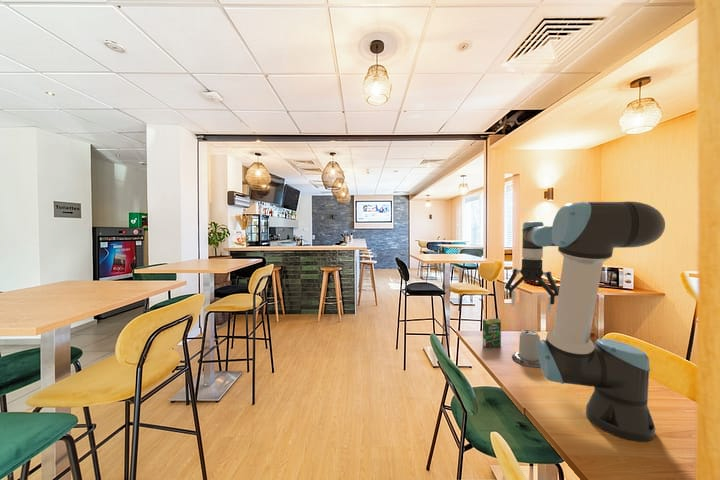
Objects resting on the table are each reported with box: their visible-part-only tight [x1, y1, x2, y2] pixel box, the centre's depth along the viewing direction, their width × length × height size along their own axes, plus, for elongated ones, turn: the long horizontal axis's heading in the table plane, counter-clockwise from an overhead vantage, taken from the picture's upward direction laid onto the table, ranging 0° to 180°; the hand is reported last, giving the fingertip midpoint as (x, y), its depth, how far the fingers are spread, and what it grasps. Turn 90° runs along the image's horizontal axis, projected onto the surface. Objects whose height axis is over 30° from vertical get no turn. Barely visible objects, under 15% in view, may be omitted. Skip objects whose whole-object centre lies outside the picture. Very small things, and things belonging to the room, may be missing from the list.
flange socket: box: [511, 351, 541, 369], centre depth 128 cm, size 13×13×2 cm
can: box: [518, 328, 541, 362], centre depth 128 cm, size 8×8×12 cm
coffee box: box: [482, 318, 502, 349], centre depth 142 cm, size 8×3×13 cm, turn 98°
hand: (530, 308), depth 127 cm, fingers open, 13 cm apart
